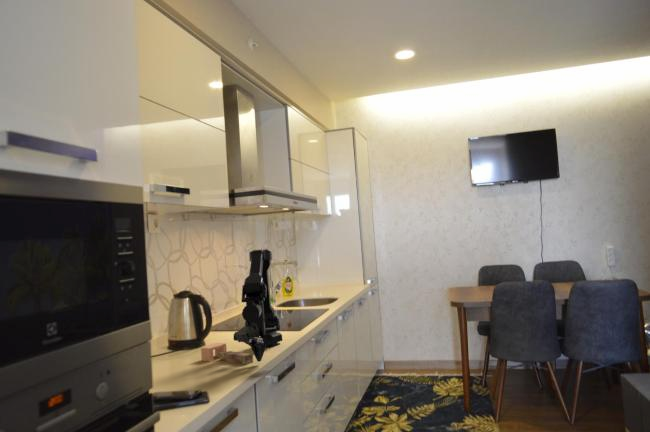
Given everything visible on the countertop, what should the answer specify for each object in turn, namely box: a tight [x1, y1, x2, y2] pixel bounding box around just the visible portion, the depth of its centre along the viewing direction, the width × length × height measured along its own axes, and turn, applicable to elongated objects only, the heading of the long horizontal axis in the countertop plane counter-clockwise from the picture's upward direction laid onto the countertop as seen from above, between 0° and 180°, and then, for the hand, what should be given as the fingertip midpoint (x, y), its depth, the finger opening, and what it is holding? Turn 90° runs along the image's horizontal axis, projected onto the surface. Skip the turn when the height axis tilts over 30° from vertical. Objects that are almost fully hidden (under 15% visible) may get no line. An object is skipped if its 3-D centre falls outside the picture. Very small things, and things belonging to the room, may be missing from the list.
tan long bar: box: [218, 350, 254, 365], centre depth 173 cm, size 15×3×3 cm, turn 54°
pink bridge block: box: [200, 342, 228, 362], centre depth 179 cm, size 8×5×5 cm, turn 144°
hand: (259, 361), depth 166 cm, fingers closed
